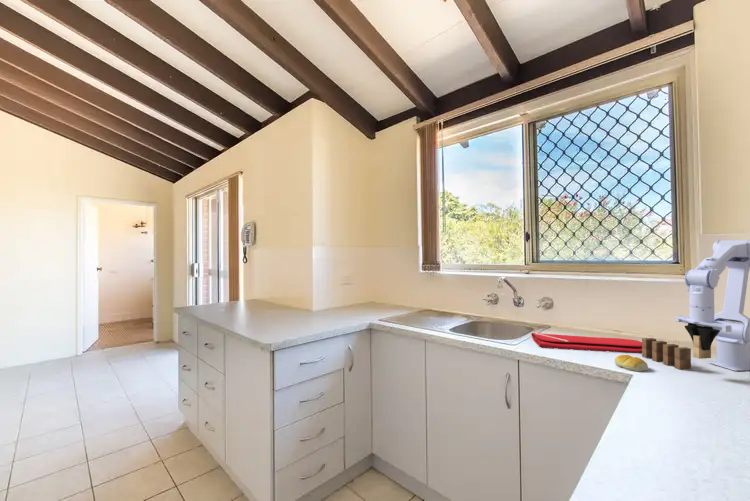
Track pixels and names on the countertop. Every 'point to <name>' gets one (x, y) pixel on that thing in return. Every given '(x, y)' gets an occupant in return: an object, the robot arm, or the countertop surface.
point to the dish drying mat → (587, 343)
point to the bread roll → (631, 363)
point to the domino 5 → (700, 348)
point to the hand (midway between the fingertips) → (702, 348)
